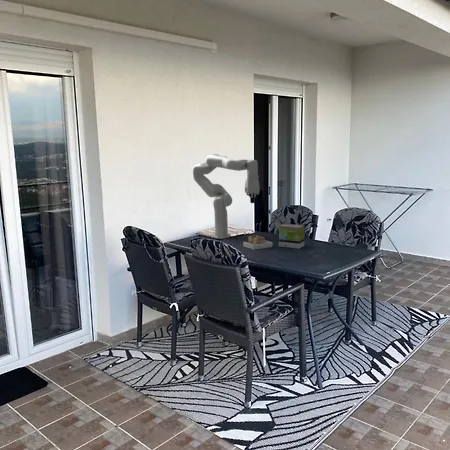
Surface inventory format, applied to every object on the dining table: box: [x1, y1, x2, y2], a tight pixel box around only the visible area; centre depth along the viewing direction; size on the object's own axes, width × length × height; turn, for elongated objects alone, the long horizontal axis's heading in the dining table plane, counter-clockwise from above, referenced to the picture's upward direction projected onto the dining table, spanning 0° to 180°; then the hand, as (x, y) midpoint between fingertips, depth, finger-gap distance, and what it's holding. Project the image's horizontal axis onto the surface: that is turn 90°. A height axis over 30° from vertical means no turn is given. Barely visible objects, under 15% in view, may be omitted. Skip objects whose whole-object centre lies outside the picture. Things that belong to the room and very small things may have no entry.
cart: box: [248, 234, 265, 245], centre depth 320 cm, size 10×8×6 cm
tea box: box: [278, 223, 305, 250], centre depth 316 cm, size 15×10×15 cm, turn 62°
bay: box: [242, 239, 274, 251], centre depth 319 cm, size 14×15×3 cm
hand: (252, 202), depth 336 cm, fingers closed
